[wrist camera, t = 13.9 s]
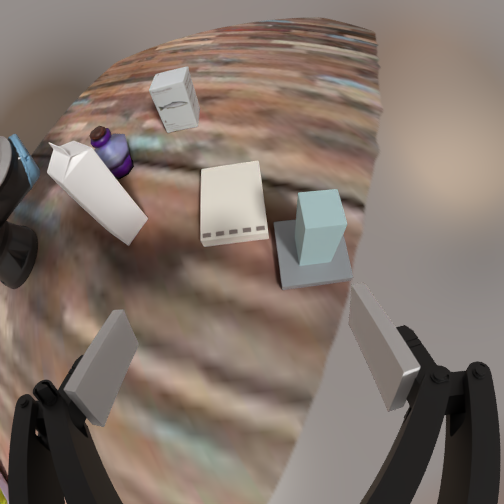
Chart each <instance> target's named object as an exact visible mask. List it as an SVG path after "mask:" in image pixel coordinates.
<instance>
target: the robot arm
mask: <svg viewBox="0 0 504 504" xmlns="http://www.w3.org/2000/svg"><path fill="white" fill-rule="evenodd" d="M39 176H40V170H39V168H38V166H37V165H36V163H35V161H34V160H33V158H32V157H31V155H30V154H29V152H28V151H27V149H26V148H25V146H24V145H23V143H22V142H21V140H20V139H19V137H18V136H17V135H16V134H13V135H12V136H10V137H9V138H8V139H6V138H5V137H3V136H0V281H1V282H2V283H3V284H4V285H5V286H7V287H9V288H12V289H16V288H18V287H20V286H21V285H22V284H23V283H24V282H25V281H26V279H27V278H28V276H29V274H30V272H31V270H32V268H33V265H34V262H35V259H36V254H37V246H38V243H37V236H36V234H35V232H34V231H32V230H31V229H30V228H28V227H26V226H19V225H16V224H12V223H9V222H7V221H6V220H7V219H8V217H9V216H10V214H11V213H12V212H13V210H14V209H15V208H16V207H17V205H18V204H19V203H20V201H21V200H22V199H23V198H24V197H25V195H26V194H27V193H28V192H29V191H30V190H31V189H32V186H33V185H34V184H35V182H36V181H37V180H38V178H39ZM349 326H350V328H351V330H352V332H353V334H354V336H355V338H356V340H357V342H358V345H359V347H360V349H361V351H362V353H363V355H364V358H365V360H366V362H367V364H368V366H369V368H370V371H371V373H372V375H373V378H374V380H375V382H376V384H377V387H378V389H379V391H380V394H381V396H382V398H383V401H384V403H385V405H386V408H387V410H388V412H389V411H392V410H395V409H398V408H401V407H403V406H404V404H405V402H406V400H407V401H408V403H409V405H410V407H409V409H408V411H407V412H406V414H405V416H404V421H403V423H402V426H401V428H400V430H399V433H398V435H397V437H396V439H395V441H394V444H393V446H392V448H391V450H390V452H389V454H388V456H387V458H386V460H385V462H384V463H383V465H382V467H381V469H380V471H379V473H378V474H377V476H376V478H375V480H374V482H373V483H372V485H371V486H370V488H369V490H368V492H367V493H366V495H365V496H364V498H363V499H362V501H361V503H360V504H410V503H411V501H412V499H413V497H414V495H415V493H416V491H417V489H418V486H419V484H420V482H421V480H422V477H423V475H424V473H425V471H426V468H427V465H428V463H429V461H430V458H431V455H432V453H433V450H434V447H435V444H436V441H437V438H438V435H439V432H440V428H441V425H442V422H443V418H444V415H446V438H445V439H446V440H445V453H444V464H443V472H442V479H441V486H440V492H439V498H438V502H437V504H497V503H498V494H499V483H500V482H499V481H500V433H499V421H498V411H497V404H496V397H495V391H494V386H493V380H492V375H491V371H490V369H489V367H488V366H487V365H486V364H484V363H482V362H473V363H471V364H470V365H469V367H468V368H467V370H466V371H459V372H450V371H449V370H448V369H447V368H446V367H443V366H438V365H436V363H435V362H434V360H433V359H432V357H431V356H430V354H429V353H428V351H427V350H426V348H425V347H424V346H423V345H422V343H421V341H420V340H419V339H418V337H417V336H416V334H415V333H414V331H413V330H411V329H409V328H408V327H407V326H405V325H404V326H400V327H395V326H394V324H393V323H392V321H391V320H390V318H389V317H388V316H387V314H386V313H385V311H384V310H383V308H382V307H381V305H380V304H379V303H378V301H377V300H376V298H375V297H374V295H373V294H372V293H371V291H370V290H369V289H368V287H367V286H366V285H365V283H358V284H353V285H351V301H350V314H349ZM138 345H139V343H138V341H137V339H136V337H135V335H134V333H133V330H132V328H131V326H130V324H129V321H128V319H127V317H126V314H125V312H124V310H113V311H112V313H111V314H110V316H109V317H108V319H107V320H106V322H105V323H104V325H103V326H102V328H101V329H100V331H99V332H98V334H97V335H96V337H95V338H94V340H93V341H92V343H91V344H90V346H89V348H88V349H87V351H86V352H85V354H84V355H81V356H80V357H79V358H78V359H77V360H76V361H75V363H74V364H73V366H72V369H70V371H69V372H68V373H69V374H67V376H66V377H65V379H64V381H63V382H62V384H61V386H60V388H59V389H58V390H57V389H56V388H55V386H54V385H53V384H52V382H51V381H49V380H43V381H40V382H39V383H37V385H36V386H35V387H34V389H33V394H34V396H35V397H36V398H37V399H38V400H39V401H35V400H34V399H33V398H32V396H31V395H29V394H25V395H23V396H21V397H20V398H19V399H18V401H17V403H16V407H15V413H14V419H13V425H12V433H11V441H10V452H9V470H8V493H9V504H65V500H66V503H67V504H123V503H122V501H121V500H120V498H119V496H118V494H117V492H116V490H115V488H114V487H113V485H112V483H111V481H110V479H109V477H108V474H107V472H106V470H105V468H104V466H103V464H102V461H101V459H100V457H99V454H98V452H97V450H96V447H95V445H94V442H93V440H92V437H91V434H90V431H89V429H88V426H87V425H86V423H85V420H86V418H87V419H88V420H89V421H90V422H91V423H92V424H93V425H97V426H102V427H104V426H105V423H106V420H107V418H108V415H109V413H110V410H111V408H112V405H113V403H114V400H115V398H116V395H117V393H118V391H119V388H120V386H121V384H122V381H123V379H124V377H125V374H126V372H127V370H128V367H129V365H130V363H131V361H132V359H133V356H134V354H135V352H136V350H137V348H138ZM35 429H36V430H37V431H38V436H37V435H36V434H35ZM64 497H65V500H64Z"/></svg>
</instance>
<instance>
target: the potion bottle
mask: <svg viewBox="0 0 504 504" xmlns="http://www.w3.org/2000/svg"><path fill="white" fill-rule="evenodd" d="M90 138H91V145H92V146H93V147H94V148H95V150H94V151H95V152H96V153H97V155H98V156H99V157H100V159H101V160H102V161H103V163H104V164H105V165H106V166H107V168H108V169H109V170H110V172H111V173H112V174H113V176H114V177H115V178H116V179H121V178H123V177H124V176H126V175H128V174H129V173H130V171H131V170H132V168H133V167H134V165H133V160H131V158H130V153H129V149H128V143H127V141H126V137H125V134H113V135H111V132H110V130H109V129H108V128H105V127H102V126H99V127H97V128H95V129H94V130H93V131H92V132H91V134H90Z"/></svg>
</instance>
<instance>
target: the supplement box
mask: <svg viewBox="0 0 504 504" xmlns="http://www.w3.org/2000/svg"><path fill="white" fill-rule="evenodd" d="M149 91H150V94H151V96H152V99H153V101H154V103H155V106H156V108H157V110H158V113H159V115H160V117H161V119H162V122H163V124H164V126H165V129H166V131H167V133H169V132H173V131H178V130H182V129H188V128H193V127H198V121H199V112H200V107H199V104H198V100H197V97H196V93H195V90H194V86H193V83H192V80H191V76H190V73H189V68H188V67H183V68H179V69H175V70H170V71H167V72H163V73H159V74H156V75H155V77H154V79H153V82H152V84H151V86H150V89H149Z"/></svg>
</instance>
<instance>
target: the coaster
mask: <svg viewBox="0 0 504 504" xmlns="http://www.w3.org/2000/svg"><path fill="white" fill-rule="evenodd" d="M295 226H296V220H288V221H279V222H274V231H275V239H276V246H277V253H278V261H279V269H280V276H281V284H282V290H286V289H294V288H302V287H310V286H317V285H324V284H331V283H338V282H345V281H351V279H352V278H353V275H352V270H351V265H350V261H349V256H348V252H347V248H346V243H345V239H344V235H343V236H342V238H341V240H340V242H339V245H338V247H337V249H336V251H335V254H334V256H333V258H332V260H331V262H327V263H319V264H311V265H303V266H299V261H298V254H297V248H296V242H295Z"/></svg>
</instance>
